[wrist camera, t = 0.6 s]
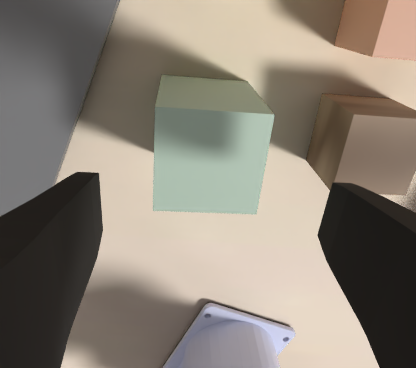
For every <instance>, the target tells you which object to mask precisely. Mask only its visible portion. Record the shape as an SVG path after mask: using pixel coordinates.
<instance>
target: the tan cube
mask: <svg viewBox="0 0 416 368" xmlns="http://www.w3.org/2000/svg"><path fill="white" fill-rule="evenodd" d="M306 161H307V162H308V163H309V165H310V166H311V167H312V168H313V170H314V171H315V172H316V173H317V175H318V176H319V177H320V178H321V180H322V181H323V182H324V183H325V185H326V186H327V187H328V189H329V190H330V189H331V186H332V182H340V183H353V184H356V185H358V186H361V187H363V188H366V189H368V190H370V191H372V192H374V193H376V194H387V195H406V193H407V190H408V188H409V185H410V183H411V180H412V178H413V176H414V173H415V171H416V110H413V109H411V108H409V107H407V106H405V105H403V104H401V103H399V102H397V101H394V100H392V99H389V98H376V97H362V96H349V95H336V94H323V93H322V96H321V100H320V104H319V109H318V113H317V117H316V121H315V125H314V129H313V133H312V137H311V142H310V146H309V150H308V154H307V158H306Z"/></svg>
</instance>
